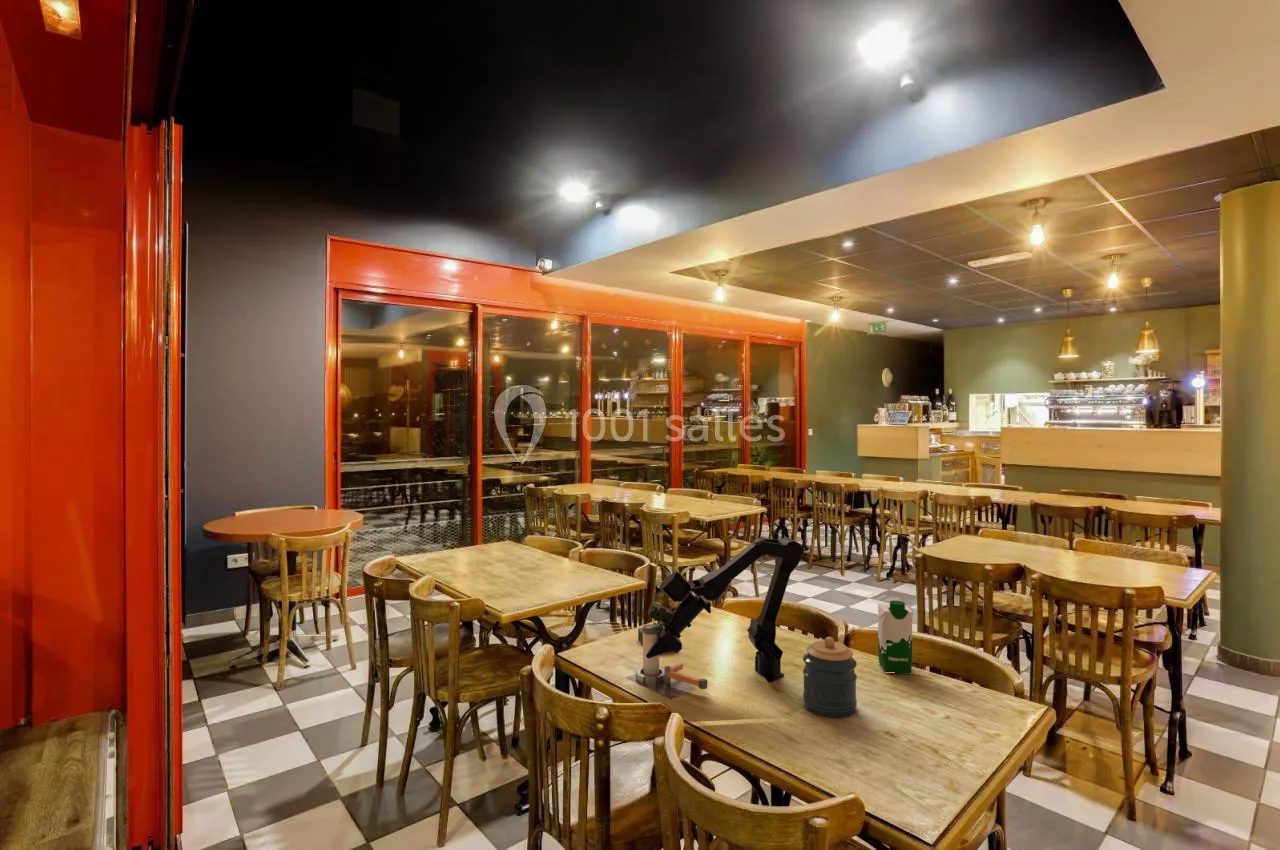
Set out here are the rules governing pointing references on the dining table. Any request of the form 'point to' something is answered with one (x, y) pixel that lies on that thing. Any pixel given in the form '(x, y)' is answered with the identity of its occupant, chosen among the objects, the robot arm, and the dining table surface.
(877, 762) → the dining table surface
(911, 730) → the dining table surface
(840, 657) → the canister
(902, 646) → the milk carton
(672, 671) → the clip
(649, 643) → the plug
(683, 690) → the socket plate
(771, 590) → the robot arm
